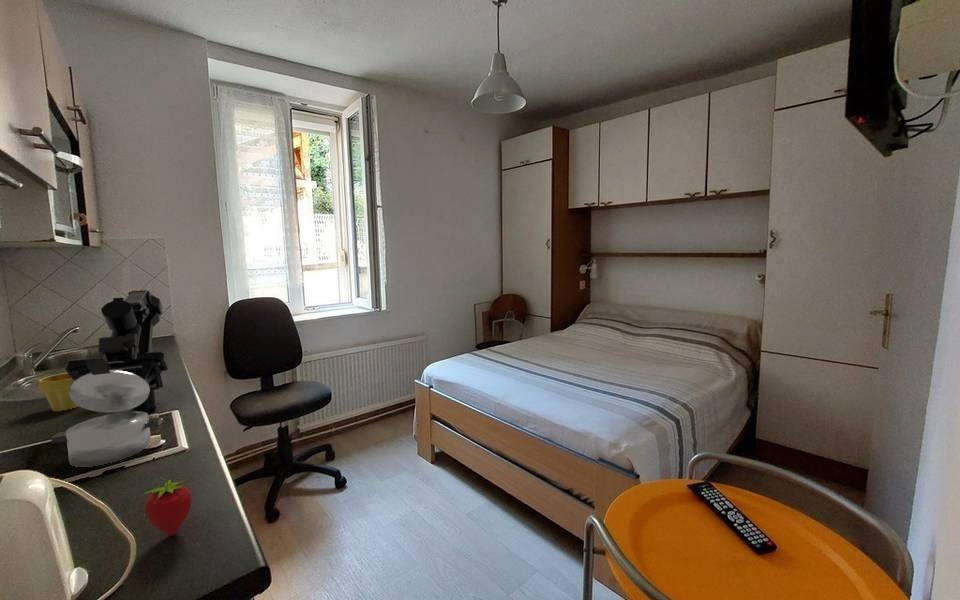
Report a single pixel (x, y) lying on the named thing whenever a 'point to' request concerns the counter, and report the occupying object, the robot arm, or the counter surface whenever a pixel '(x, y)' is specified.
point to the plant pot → (58, 391)
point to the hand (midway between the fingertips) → (114, 395)
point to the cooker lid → (108, 388)
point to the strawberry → (168, 507)
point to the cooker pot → (107, 438)
